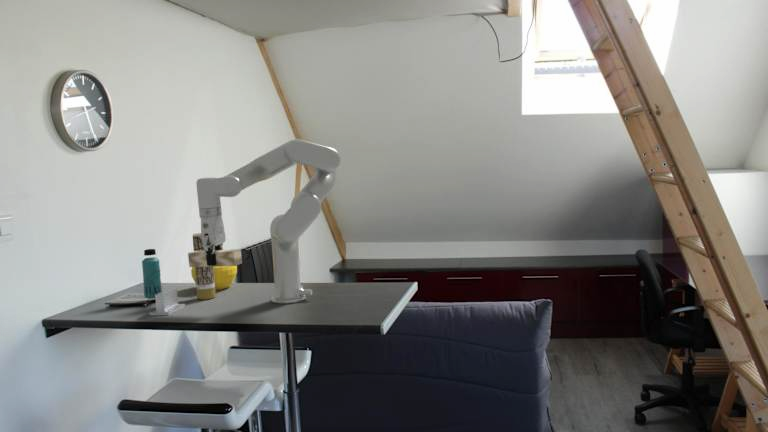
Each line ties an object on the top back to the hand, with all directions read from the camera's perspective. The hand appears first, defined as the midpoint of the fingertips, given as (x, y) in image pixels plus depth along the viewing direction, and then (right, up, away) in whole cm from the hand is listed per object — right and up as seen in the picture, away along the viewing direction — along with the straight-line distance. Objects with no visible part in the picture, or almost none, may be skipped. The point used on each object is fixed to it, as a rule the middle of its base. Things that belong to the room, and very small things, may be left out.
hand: (215, 263), depth 207 cm
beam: (0, -1, 0) cm, 1 cm away
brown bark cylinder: (-9, -15, +19) cm, 25 cm away
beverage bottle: (-29, -16, +18) cm, 38 cm away
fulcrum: (-17, -17, 0) cm, 24 cm away
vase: (-10, -13, +37) cm, 41 cm away
